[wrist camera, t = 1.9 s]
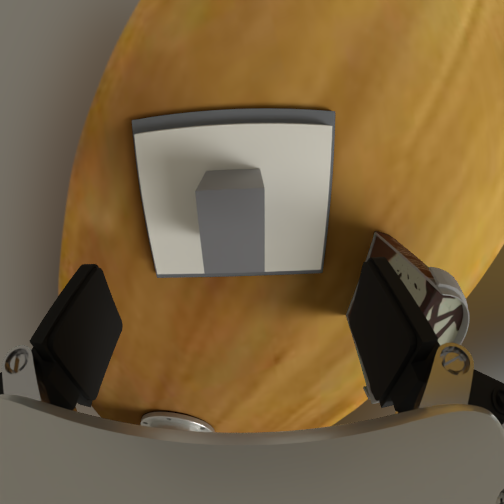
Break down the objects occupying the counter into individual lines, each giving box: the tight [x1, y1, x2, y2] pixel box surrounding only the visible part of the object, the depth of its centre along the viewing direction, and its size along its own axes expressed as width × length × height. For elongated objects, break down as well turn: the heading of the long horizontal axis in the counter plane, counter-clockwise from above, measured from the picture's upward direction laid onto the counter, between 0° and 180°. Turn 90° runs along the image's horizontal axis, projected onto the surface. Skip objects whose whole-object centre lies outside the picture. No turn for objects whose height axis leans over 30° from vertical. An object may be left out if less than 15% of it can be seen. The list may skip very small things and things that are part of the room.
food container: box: [346, 231, 469, 404], centre depth 20 cm, size 12×6×10 cm, turn 174°
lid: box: [134, 123, 332, 274], centre depth 17 cm, size 11×13×6 cm
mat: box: [132, 108, 335, 278], centre depth 20 cm, size 13×14×1 cm
